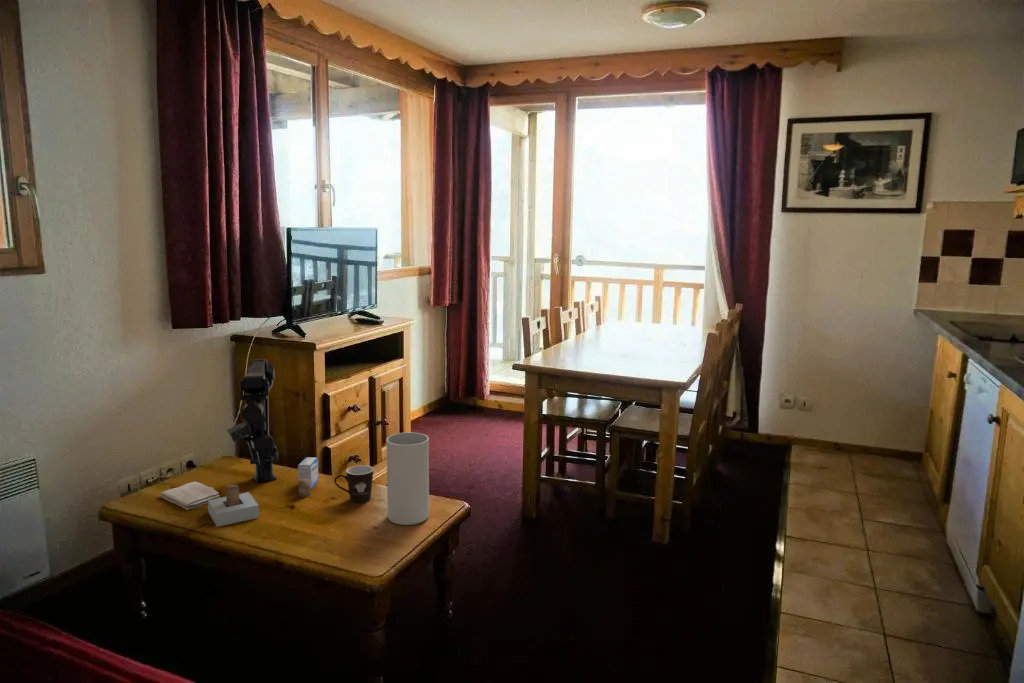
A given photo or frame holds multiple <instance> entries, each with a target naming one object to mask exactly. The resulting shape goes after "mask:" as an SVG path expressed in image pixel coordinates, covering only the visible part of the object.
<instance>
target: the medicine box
mask: <svg viewBox="0 0 1024 683" xmlns="http://www.w3.org/2000/svg"><path fill="white" fill-rule="evenodd" d="M297 472H298V475H297V477H298V481H299V480H301V479H309V480H310V490H312V489H313V488H314V486H316V484H317V483H318V482H319V459H318V457H315V456H314V457H310V456H308V457H305V458H304V459H303V460H302V461H301V462H300V463H299V464H298V465H297Z"/></svg>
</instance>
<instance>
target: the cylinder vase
mask: <svg viewBox="0 0 1024 683" xmlns="http://www.w3.org/2000/svg"><path fill="white" fill-rule="evenodd" d="M429 440H430V439H429V436H428V435H426V434H424V433H420V432H399V433H394V434H391V435H388V437H387V438H386V486H387V487H386V490H387V491H386V492H387V493H386V494H387V496H386V498H387V500H386V502H387V509H386V510H387V519H388V520H389V522H391V523H393V524H396V525H398V526H411V525H412V526H413V525H417V524H421V523H423V522H425V521H426V520H427V519H428V518H429V516H430V470H429V469H430V462H429V460H430V457H429V456H430V455H429V454H430V453H429V450H430V447H429V446H430V445H429V444H430V443H429Z"/></svg>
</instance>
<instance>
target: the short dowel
mask: <svg viewBox="0 0 1024 683" xmlns="http://www.w3.org/2000/svg"><path fill="white" fill-rule="evenodd" d="M298 497H299V498H308V497H311V489H310V480H309V479H301V480H299V479H298Z"/></svg>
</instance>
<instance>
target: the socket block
mask: <svg viewBox="0 0 1024 683" xmlns="http://www.w3.org/2000/svg"><path fill="white" fill-rule="evenodd" d="M239 502H240V505H235V506H230V507H227V499H226V496H223V497H220V498H217V499H212V500H208V504H207V507H208V514H209V516H210V517H211V519H212V521H213V522H214V524H215V526H216V527H217V528H219V527H223V526H226V525H227V526H228V525H231V524H235V523H236V524H237V523H241V522H245V521H250V520H254V519H259V518H260V509H259V508H260V507H259V506H260V504H258V502H257V501H256V500H255V498H254V497H253V496H252V494H251V493H250V492H249V491H247V492H243V493H239Z"/></svg>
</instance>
